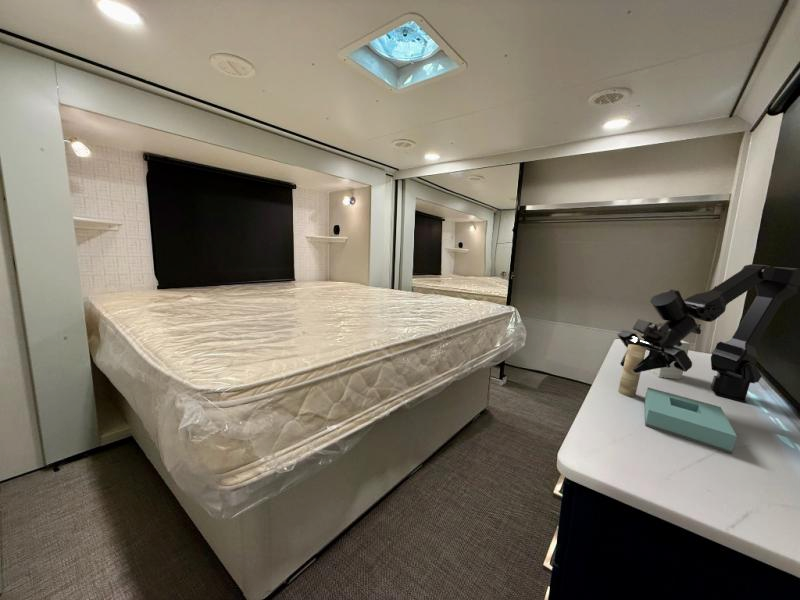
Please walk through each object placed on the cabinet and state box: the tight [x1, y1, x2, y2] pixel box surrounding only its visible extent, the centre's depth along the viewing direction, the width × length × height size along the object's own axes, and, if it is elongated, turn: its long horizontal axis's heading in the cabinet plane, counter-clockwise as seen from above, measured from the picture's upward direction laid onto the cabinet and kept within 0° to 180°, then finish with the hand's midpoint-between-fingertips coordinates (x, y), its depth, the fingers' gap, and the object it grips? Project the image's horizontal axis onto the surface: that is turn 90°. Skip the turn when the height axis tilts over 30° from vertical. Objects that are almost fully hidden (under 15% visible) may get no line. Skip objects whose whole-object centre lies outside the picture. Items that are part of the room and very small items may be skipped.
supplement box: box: [646, 339, 691, 380], centre depth 104 cm, size 7×7×13 cm
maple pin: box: [617, 344, 647, 398], centre depth 86 cm, size 4×4×14 cm
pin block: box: [643, 387, 738, 454], centre depth 73 cm, size 14×16×4 cm
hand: (627, 368), depth 86 cm, fingers closed on maple pin, 4 cm apart
